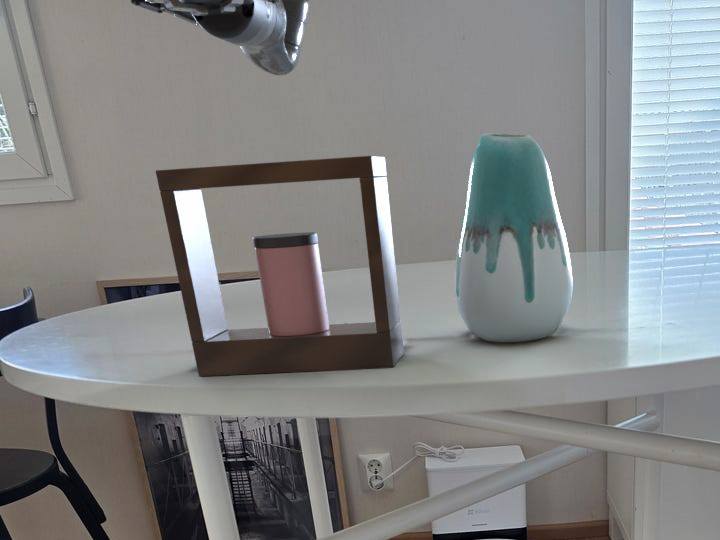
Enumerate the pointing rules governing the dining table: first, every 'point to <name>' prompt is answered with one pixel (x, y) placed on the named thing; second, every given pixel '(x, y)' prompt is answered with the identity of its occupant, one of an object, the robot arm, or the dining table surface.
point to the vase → (511, 244)
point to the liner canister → (292, 283)
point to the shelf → (256, 346)
